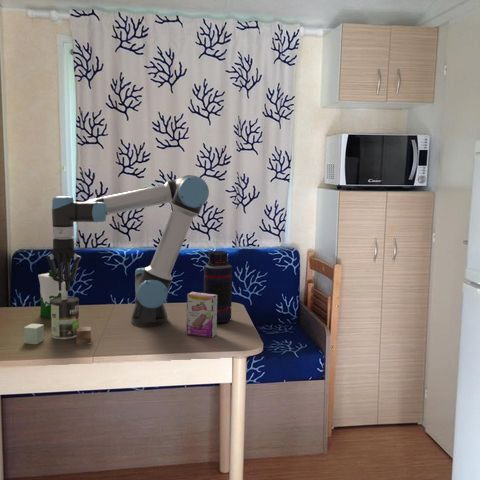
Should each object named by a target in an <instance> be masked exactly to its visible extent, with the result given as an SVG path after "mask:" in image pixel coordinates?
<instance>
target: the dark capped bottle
mask: <svg viewBox="0 0 480 480" xmlns="http://www.w3.org/2000/svg"><path fill="white" fill-rule="evenodd" d="M203 274H204V275H203V293H206V294H214V295H217V323H225V322H226V323H227V324H228V322H229V321H230V322H231V320H232V304H233V303H232V299H233V298H232V297H233V292H232V291H233V275H232V274H233V265H231V264H230V263H229V259H228V252H227V251H224V250H210V251H208V262H207V263H206V264H205V265H203ZM230 322H229V323H230Z"/></svg>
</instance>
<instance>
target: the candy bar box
mask: <svg viewBox="0 0 480 480" xmlns="http://www.w3.org/2000/svg"><path fill="white" fill-rule="evenodd" d="M217 325H218V322H217V295H214V294H206V293H204V292H196V291H191V292H189V293H187V295H186V329H185V330H186V334H185V335H190V336H197V337H201V338H202V337H203V338H210V339H212V338H213V339H214V338H215V336H216V335H217V333H218V332H217V331H218V330H217V327H218V326H217Z"/></svg>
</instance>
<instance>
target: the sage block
mask: <svg viewBox="0 0 480 480" xmlns="http://www.w3.org/2000/svg"><path fill="white" fill-rule="evenodd" d="M44 327H45V325H44V324H41V323H29V324H28V325H26V326H24V327H23V334H24V335H23V337H24V338H23V339H24V340H23V341H24V344H29V345H30V344H31V345H38V344H40V343H41V342H43V341H45V328H44Z"/></svg>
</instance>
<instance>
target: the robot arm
mask: <svg viewBox="0 0 480 480" xmlns="http://www.w3.org/2000/svg"><path fill="white" fill-rule="evenodd" d="M209 195H210V189H209V186H208V184H207V183H206V181H205V180H204V179H203V178H202V177H200V176H196V175H193V174H192V175H191V174H189V175H184V176H181V177H179V178H176V179H171V180H168V181H166V182H165V183H164V184H160V185H156V186H151V187H146V188H140V189H136V190H131V191H127V192H122V193H116V194H112V195H111V194H110V195H107V196H102V197H97V198H96V197H95V198H89V199H86V201H75V200H74V197H73V196H67V195H58V196H54V197H53V198H52V200H51V201H52V202H51V204H52V205H51V218H52V221H51V222H52V237H53V239H52V251H51V253H50V254H48V255H46V257H45V259H46V260H47V262H48V264H49V268H50V270H51V272H52V276H53V280H54V281H58V283H59V291H61V297H62V300H66V299H67V298H68V297H69V296H68V295H69V294H68V292H69V291H70V290H71V282H73V281H75V280H76V275H77V271H78V267H79V262H80V261H81V259H82V256H81V255H78V254H77V253H76V251H75V239H74V237H75V231H74V230H75V229H74V227H75V226H74V225H75V224H74V223H75V222H76V223H104V222H105V221H107V216H110V215H115V214H120V213H124V212H129V211H133V210H139V209H143V208H145V209H146V208H150V207H154V206H158V205H164V204H168V203H169V204H170V205H171V206H172V211H171V213H170V215H169V218H168V221H167V224H166V225H165V228H164V231H163V233H162V235H161V238H160V240H159V243H158V245H157V248H156V250H155V253H154V254H153V257H152V260H151V262H150V265H148V266H146V267H139V268H136V269H135V271H134V273H135V274H134V279H135V281H134V282H135V283H134V286H135V290H134V292H135V298H134V301H135V302H134V307H133V310H132V313H131V316H130V317H131V318H130V319H131V321H130V323H131V324H132V325H134V326H139V327H145V328H146V327H158V326H162V325H165V324H166V323H168V320H169V319H168V314H167V310H166V307H165V303H166V301H167V300H168V294H169V293H168V292H169V288H170V286H171V283H172V280H173V276H172V275H171V274H172V270H173V269H174V266H175V263H176V261H177V259H178V256H179V254H180V252H181V249H182V246H183V244H184V242H185V239H186V237H187V234H188V232H189V230H190V227H191V224H192V223H193V219H194V218H195V217H197V216H199V215H200V213H201V210H202V209H203V205H204V204H205V203H206V202H207V201H208V198H209ZM54 259H55V260H56V261H57V266H56V263H55V260H54ZM72 260H73V261H74V262H73V264H72V268H71V261H72ZM57 270H58V273H57ZM63 274H64V279H63Z"/></svg>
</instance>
